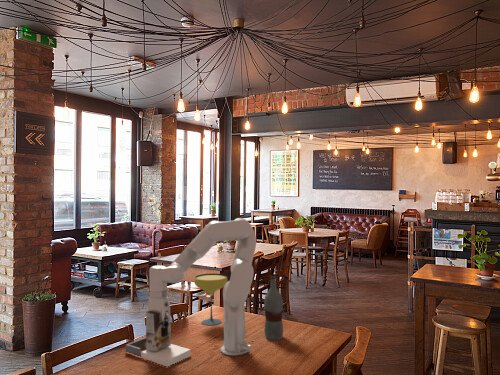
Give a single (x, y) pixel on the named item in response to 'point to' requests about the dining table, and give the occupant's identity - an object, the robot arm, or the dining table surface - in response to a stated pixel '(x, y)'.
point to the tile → (143, 346)
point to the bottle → (273, 312)
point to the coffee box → (156, 332)
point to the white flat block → (167, 355)
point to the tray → (135, 347)
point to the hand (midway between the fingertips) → (158, 334)
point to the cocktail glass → (211, 290)
